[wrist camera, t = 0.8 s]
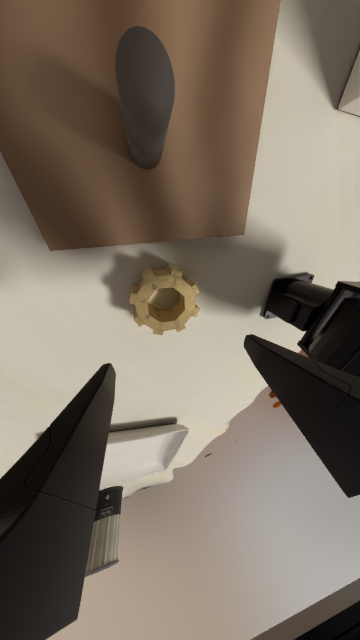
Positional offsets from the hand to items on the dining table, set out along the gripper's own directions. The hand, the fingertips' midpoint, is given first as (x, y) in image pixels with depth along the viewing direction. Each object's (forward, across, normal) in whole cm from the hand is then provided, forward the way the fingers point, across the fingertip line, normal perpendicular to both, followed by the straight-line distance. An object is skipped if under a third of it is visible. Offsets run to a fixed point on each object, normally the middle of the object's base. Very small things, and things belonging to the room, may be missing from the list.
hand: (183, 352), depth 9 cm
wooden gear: (+10, 0, 0) cm, 10 cm away
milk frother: (+10, +31, +76) cm, 83 cm away
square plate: (+11, +15, +41) cm, 45 cm away
